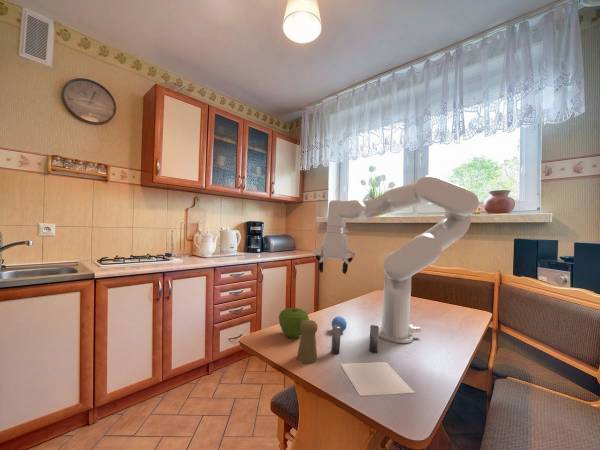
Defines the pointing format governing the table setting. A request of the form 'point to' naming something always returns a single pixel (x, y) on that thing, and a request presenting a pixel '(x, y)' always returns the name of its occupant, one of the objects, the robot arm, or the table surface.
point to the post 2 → (373, 339)
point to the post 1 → (336, 339)
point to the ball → (339, 322)
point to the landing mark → (375, 379)
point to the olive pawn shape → (307, 342)
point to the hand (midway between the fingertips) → (332, 272)
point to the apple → (292, 321)
